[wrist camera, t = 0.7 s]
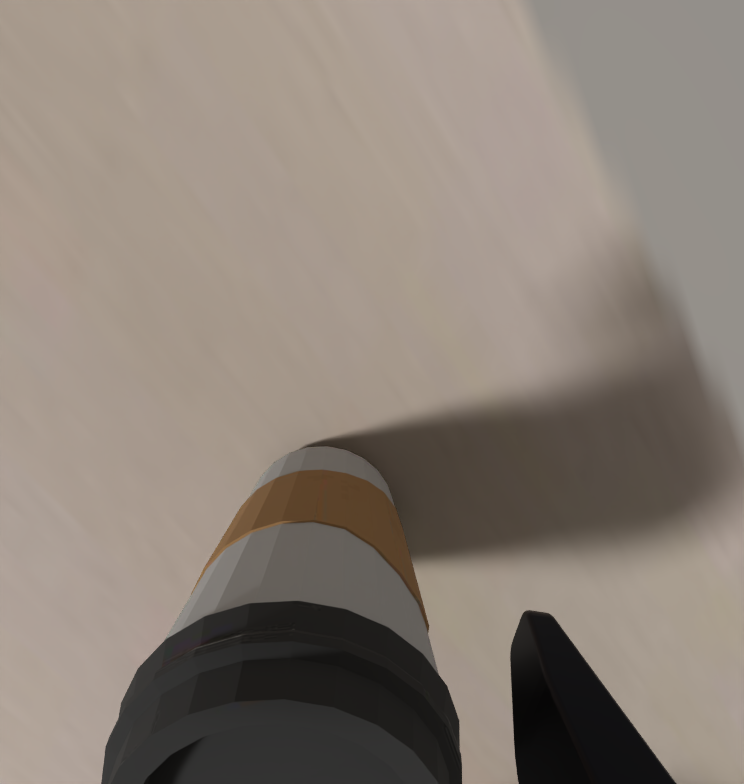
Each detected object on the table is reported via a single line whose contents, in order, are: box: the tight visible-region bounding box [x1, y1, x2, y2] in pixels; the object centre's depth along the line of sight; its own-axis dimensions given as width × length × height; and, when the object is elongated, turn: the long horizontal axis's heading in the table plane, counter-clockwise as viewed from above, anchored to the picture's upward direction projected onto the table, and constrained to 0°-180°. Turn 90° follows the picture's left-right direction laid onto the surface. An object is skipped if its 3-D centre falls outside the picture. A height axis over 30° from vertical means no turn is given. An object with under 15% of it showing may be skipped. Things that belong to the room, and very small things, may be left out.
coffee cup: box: [101, 446, 462, 784], centre depth 19 cm, size 8×8×15 cm
